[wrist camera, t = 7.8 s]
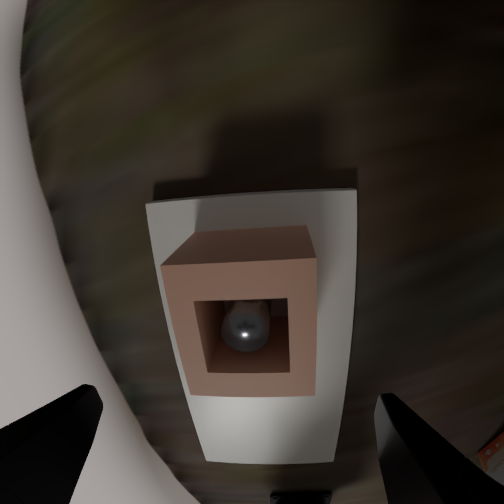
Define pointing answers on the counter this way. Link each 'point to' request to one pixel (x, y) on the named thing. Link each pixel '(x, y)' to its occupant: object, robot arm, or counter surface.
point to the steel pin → (247, 324)
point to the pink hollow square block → (243, 288)
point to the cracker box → (494, 459)
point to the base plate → (328, 315)
